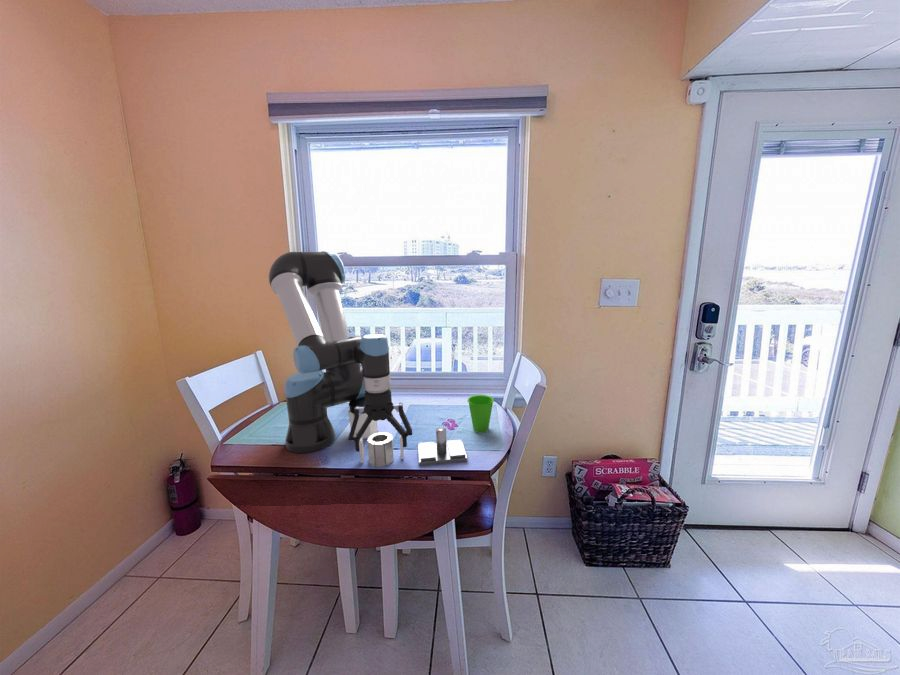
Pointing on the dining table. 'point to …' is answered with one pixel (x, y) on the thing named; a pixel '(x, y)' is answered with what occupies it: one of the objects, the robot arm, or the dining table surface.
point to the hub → (380, 449)
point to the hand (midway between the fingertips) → (382, 458)
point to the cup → (480, 411)
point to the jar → (361, 418)
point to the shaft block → (441, 450)
